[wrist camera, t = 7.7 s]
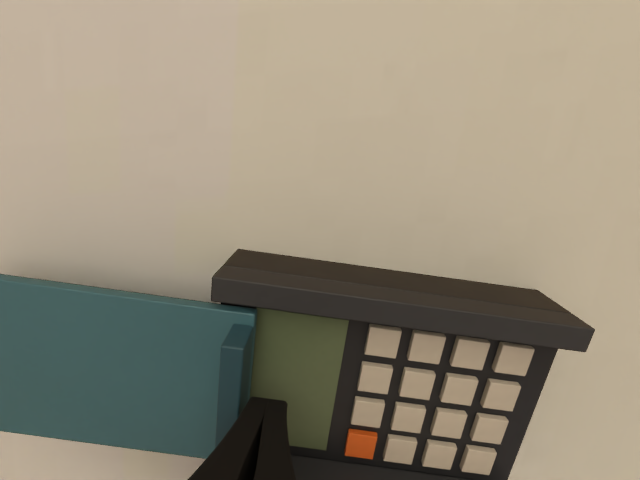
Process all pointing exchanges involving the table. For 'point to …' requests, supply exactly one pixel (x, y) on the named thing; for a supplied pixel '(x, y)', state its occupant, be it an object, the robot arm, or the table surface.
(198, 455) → the cover
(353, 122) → the table surface
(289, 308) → the calculator
